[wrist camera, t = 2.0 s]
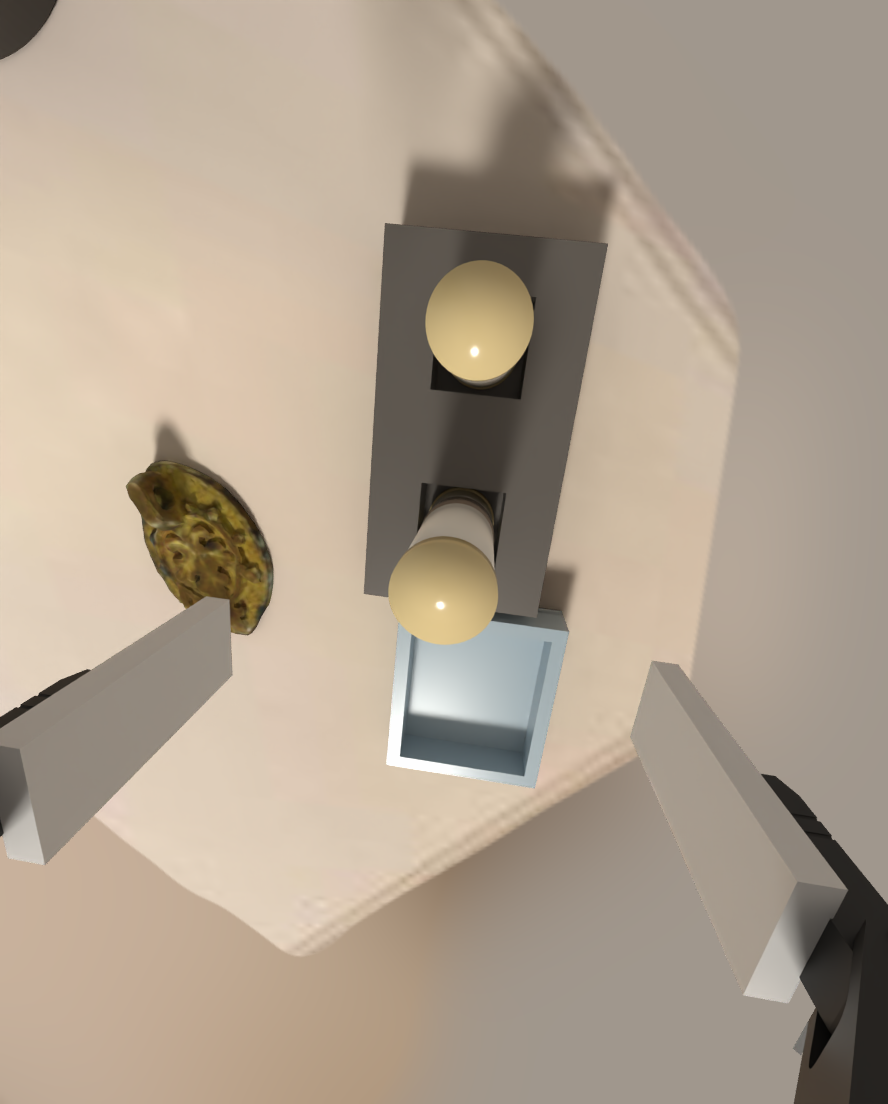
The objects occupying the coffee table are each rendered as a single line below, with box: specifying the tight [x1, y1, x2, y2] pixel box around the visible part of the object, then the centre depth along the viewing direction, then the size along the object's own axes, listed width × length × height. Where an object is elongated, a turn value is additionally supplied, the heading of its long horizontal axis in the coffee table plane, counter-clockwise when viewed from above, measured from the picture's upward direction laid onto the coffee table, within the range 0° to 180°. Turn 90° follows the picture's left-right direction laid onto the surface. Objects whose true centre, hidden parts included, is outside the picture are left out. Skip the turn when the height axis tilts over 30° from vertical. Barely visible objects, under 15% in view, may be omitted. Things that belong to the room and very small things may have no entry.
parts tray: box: [387, 608, 569, 788], centre depth 35 cm, size 14×12×3 cm
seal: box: [126, 461, 273, 635], centre depth 34 cm, size 9×5×15 cm
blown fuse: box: [388, 487, 498, 645], centre depth 25 cm, size 5×5×14 cm
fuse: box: [425, 260, 534, 390], centre depth 24 cm, size 5×5×10 cm
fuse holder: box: [364, 223, 608, 618], centre depth 29 cm, size 22×12×4 cm, turn 174°
